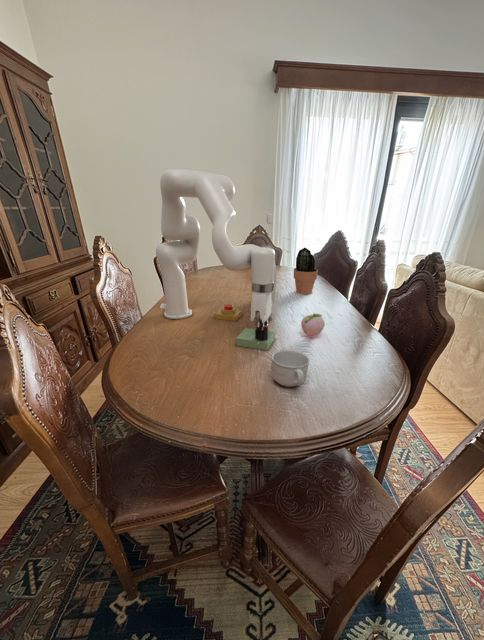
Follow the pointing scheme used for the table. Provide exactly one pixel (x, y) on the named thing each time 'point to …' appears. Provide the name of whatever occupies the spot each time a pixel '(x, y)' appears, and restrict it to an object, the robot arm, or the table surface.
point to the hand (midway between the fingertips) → (261, 336)
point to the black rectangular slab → (265, 332)
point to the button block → (228, 314)
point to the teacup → (289, 367)
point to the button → (228, 307)
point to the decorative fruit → (312, 324)
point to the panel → (249, 339)
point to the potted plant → (305, 272)
